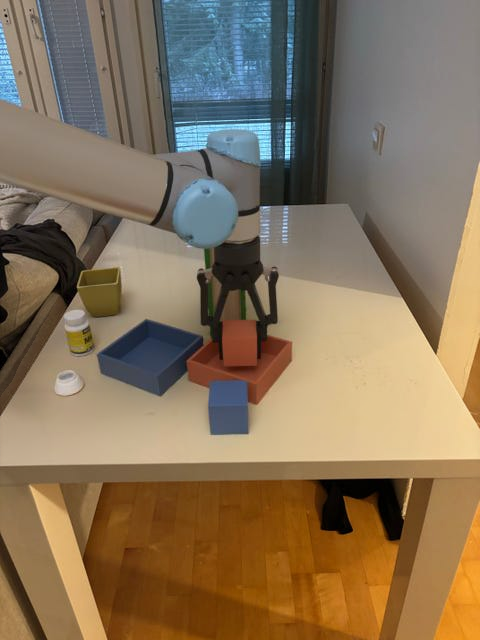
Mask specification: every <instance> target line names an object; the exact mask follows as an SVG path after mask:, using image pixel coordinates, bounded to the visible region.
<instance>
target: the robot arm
mask: <svg viewBox="0 0 480 640" xmlns="http://www.w3.org/2000/svg"><path fill="white" fill-rule="evenodd" d="M259 140H260V139H259V137H258V135H257V134H256V133H255V132H253V131H251V130H247V129H239V128H236V129H235V128H234V129H233V128H230V129H220V130H216V131H211V132H210V133H209V134H208V135H207V137H206V144H205V148H200V149H197V150H187V151H177V152H166V153H156V154H152V153H147V152H144V151H142V150H139V149H136V148H133V147H131V146H128V145H125V144H123V143H120V142H117V141H115V140H112V139H109V138H106V137H105V136H102V135H98V134H95V133H93V132H91V131H88V130H86V129H83V128H80V127H78V126H74V125H72V124H70V123H66V122H64V121H61V120H58V119H56V118H53V117H51V116H48V115H45V114H43V113H40V112H37V111H35V110H33V109H29V108H26V107H23V106H22V105H19V104H16V103H13V102H10V101H8V100H5V99H2V98H0V184H5V185H8V186H10V187H14V188H17V189H22V190H25V191H28V192H32V193H36V194H38V195H42V196H46V197H50V198H53V199H56V200H59V201H64V202H67V203H70V204H74V205H76V206H80V207H85V208H88V209H92V210H95V211H98V212H100V213H101V212H102V213H105V214H109V215H112V216H115V217H119V218H122V219H125V220H129V221H132V222H136V223H140V224H143V225H147V226H150V227H153V228H155V229H159V230H162V231H166V232H169V233H173V234H176V236H177V237H178V238H179V240H182V241H183V242H184V243H185V244H186V243H187V244H188V245H189V246H191V247H194V248H196V249H200V250H201V249H202V250H204V249H209V248H214V264H213V266H212V268H209V269H206V270H205V268H203V267H202V268H198V269H197V273H196V281H197V283H198V285H199V288H200V290H199V291H200V292H199V293H200V294H199V295H200V296H199V297H200V300H199V303H200V305H199V308H200V317H199V318H200V320H199V322H200V323H199V324H200V325H201V326H202V327H206V326H207V327H209V328H210V327H211V329H212V341H213V343H219V357H220V360H223V346H222V331H223V322H220V318H221V315H222V312H223V309H224V305H225V302H226V299H227V297H228V294H229V291H235V290H242V291H245V292H247V294H248V296H249V299H250V301H251V304H252V306H253V309H254V312H255V314H256V317H257V319H258V320H256V331H257V359H261V341H267V335H268V328H269V326H270V325H276V324H278V322H279V320H278V319H279V317H278V315H279V314H278V299H277V283H278V280H279V277H280V276H279V275H280V274H279V269H278V267H277V266H272V267H267V266H264V264H263V262H262V261H261V237H260V234H261V198H260V197H261V167H262V163H261V147H260V141H259ZM213 275H214V276H215V278H216V279H217V280H218V281H219V282H220V283H221V284H222V285H221V289H220V293H219V296H218V299H217V303H216V306H215V309H214V313H213V316H209V311H208V283H209V282H210V281H211V276H213ZM262 275H263V276H264V281H266V282H267V291H268V305H269V313H268V314H267V313H266V312H265V308H264V305H263V303H262V301H261V298H260V297H261V296H260V295H259V292H258V290H257V287H256V282H257V281H258V280H259V279H260V277H261V276H262Z"/></svg>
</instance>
